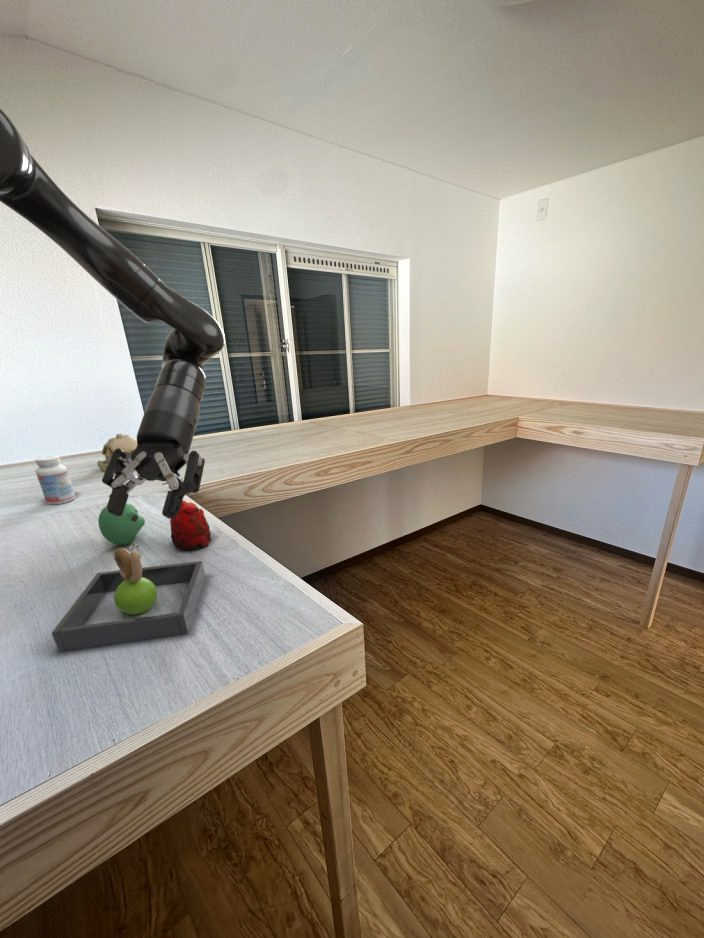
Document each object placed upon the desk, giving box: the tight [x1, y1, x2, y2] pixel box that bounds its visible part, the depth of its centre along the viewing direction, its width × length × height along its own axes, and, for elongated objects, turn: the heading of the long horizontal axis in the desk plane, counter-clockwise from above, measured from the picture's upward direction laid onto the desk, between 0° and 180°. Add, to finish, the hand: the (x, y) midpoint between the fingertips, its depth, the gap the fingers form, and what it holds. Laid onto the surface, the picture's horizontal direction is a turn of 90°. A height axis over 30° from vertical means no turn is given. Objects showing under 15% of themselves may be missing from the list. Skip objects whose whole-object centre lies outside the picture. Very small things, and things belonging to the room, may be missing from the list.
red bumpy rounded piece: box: [161, 480, 212, 551], centre depth 79 cm, size 8×7×15 cm
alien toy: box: [97, 493, 146, 546], centre depth 81 cm, size 7×8×10 cm
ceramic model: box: [96, 433, 137, 472], centre depth 130 cm, size 14×11×10 cm
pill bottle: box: [34, 454, 77, 505], centre depth 102 cm, size 6×6×11 cm
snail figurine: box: [113, 543, 158, 616], centre depth 59 cm, size 5×6×12 cm
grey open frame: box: [51, 560, 207, 654], centre depth 61 cm, size 16×15×4 cm
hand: (141, 515), depth 61 cm, fingers open, 8 cm apart
